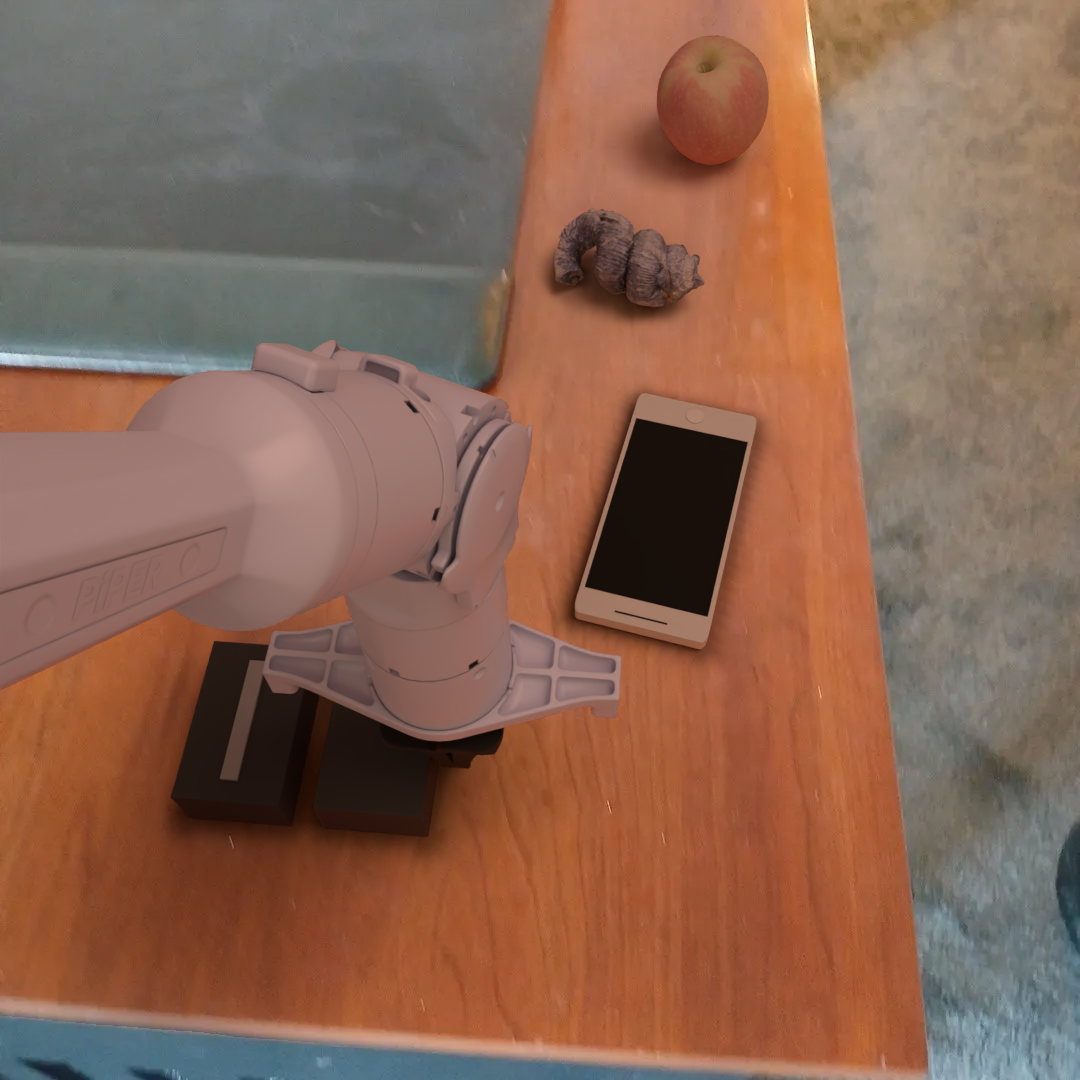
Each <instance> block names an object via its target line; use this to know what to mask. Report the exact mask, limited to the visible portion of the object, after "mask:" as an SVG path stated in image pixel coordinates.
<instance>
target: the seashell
mask: <svg viewBox="0 0 1080 1080" xmlns="http://www.w3.org/2000/svg"><path fill="white" fill-rule="evenodd" d="M634 230H635V228H634V225H633V224H632V222H631V221H630V220H629V219H628V218H627V217H626V216H625V215H622V214H621V213H619V212H616V211H614V210H605V209H603V208H601V209H595V208H590V209H588V210H587V211H586V212H582V213H581V214H579V215H578V216H576V217H575V218H574V219H572V220H571V221H569V223H568V224H567V225H565V226H564V228H563V229H562V230H561V233H560V234H559V236H558V238H559V241H558V243H557V246H556V249H555V252H554V259H553V269H554V272H555V273H554V274H555V275H554V281H555V282H557V283H559V284H563V285H569V286H572V287H575V286H576V285H577V283H578V282H580V281H582V280H583V279H584V278H585V276H586V274H585V273H584V271H583V269H582V268H581V266H582V265H581V263H582V258H583V255H584V254H585V253H586V251H589V250H590V249H593V248H596V251H595V254H594V258H595V260H594V261H593V267H592V269H593V275H594V277H595V280H596V281H597V283H598V284H599V285H600V287H601V288H602V289H604V290H605V291H607V292H608V293H610V294H613V295H619V294H625V293H626V295H625V296H626V298H627V299H628V301H629V302H631V303H633V304H635V305H639V306H641V307H652V308H658V307H663V306H664V305H665V304H666V302H667V303H675V302H678V301H680V300H681V299H682V298H683V297H684V296H686V295H688V294H689V293H690V292H692V290H696V289H698V288H699V287H703V286H704V285H705V283H706V281H705V280H704V279H703V278H702V276H701V275H700V274H699V272H698V271H699V270H698V269H699V268H698V267H699V265H700V261H701V260H700V259H701V258H700V256H699V255H698V254H693V255H689V252H688V250H687V248H686V246H685V244H678V243H669V244H667V243H666V241H665V237H664V236H663V235H662V234H661V233H660V232H658V231H656V229H653V228H648V229H639V230H638V231H637V232H634Z"/></svg>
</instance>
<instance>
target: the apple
mask: <svg viewBox="0 0 1080 1080" xmlns="http://www.w3.org/2000/svg"><path fill="white" fill-rule="evenodd" d="M769 95H770V94H769V82H768V78H767V74H766V69H765V68H764V66H763V64H762V62H761V60H760V59H759V57H758V56H757V55H756V54H755V53H754V52H753V51H751V50H750V48H747V47H746V46H745V45H743V44H742V43H741V42H739V41H738V40H735V39H733V38H730V37H727V36H723V35H704V36H703V35H702V36H699V37H696V38H694V39H690V40H688V41H687V42H685V43H684V44H683V45H681V47H680V48H678V49H677V50H676V51H675V52H674V54H673V55H672V56H671V57H670V59H669V60H668V61H667V62H666V64H665V66H664V68H663V70H662V71H661V74H660V77H659V80H658V85H657V91H656V111H657V116H658V120H659V123H660V125H661V127H662V129H663V131H664V133H665V135H666V136H667V138H668V140H669V141H670V143H671V144H672V145H673V147H674V148H675V149H676V150H677V151H678V152H679V153H680V154H681V155H682V156H684V157H686V158H687V159H688V160H690V161H691V162H695V163H697V164H700V165H707V166H714V165H715V166H716V165H719V164H723V163H727V162H728V161H731V160H733V159H735V158H738V157H739V156H741V155H742V154H744V153H745V152H746V151H747V150H748V149H749V148H750V147H751V146H752V145H753V144H754V142H755V141H756V139H757V138H758V136H759V134H760V133H761V131H762V129H763V127H764V124H765V123H766V119H767V116H768V115H767V114H768V108H769V99H770V96H769Z"/></svg>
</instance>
